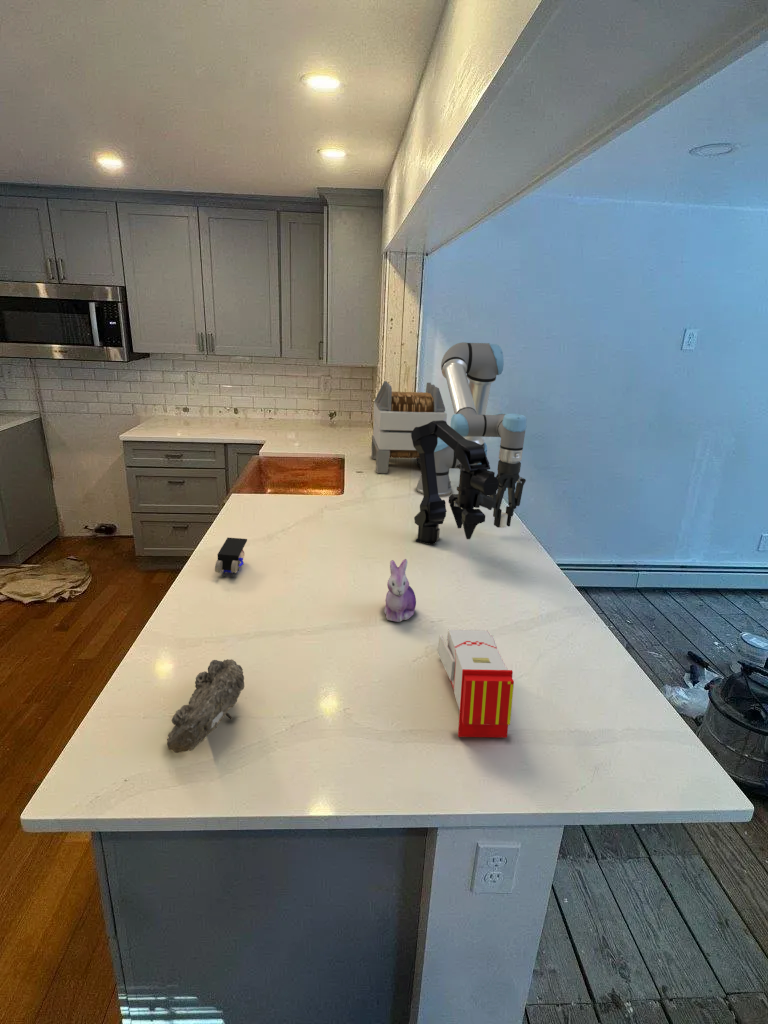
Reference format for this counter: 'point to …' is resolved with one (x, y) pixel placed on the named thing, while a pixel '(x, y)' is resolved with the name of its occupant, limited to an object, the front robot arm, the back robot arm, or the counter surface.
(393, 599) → the figurine
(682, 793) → the counter surface
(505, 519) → the beige cylinder
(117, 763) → the counter surface
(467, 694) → the toy
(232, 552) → the black toy vehicle
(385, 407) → the grey crate
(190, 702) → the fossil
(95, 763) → the counter surface
